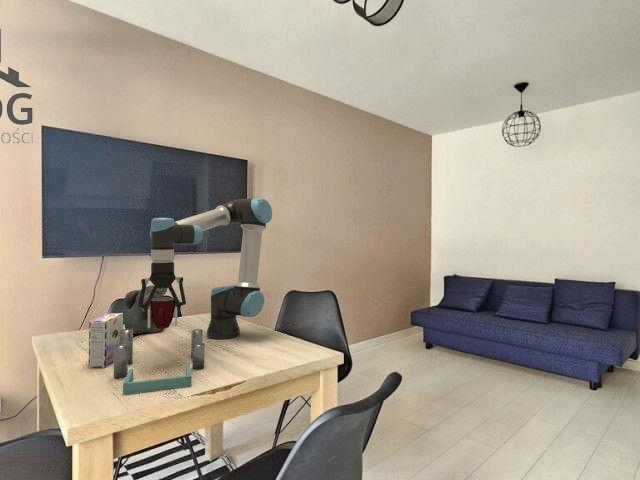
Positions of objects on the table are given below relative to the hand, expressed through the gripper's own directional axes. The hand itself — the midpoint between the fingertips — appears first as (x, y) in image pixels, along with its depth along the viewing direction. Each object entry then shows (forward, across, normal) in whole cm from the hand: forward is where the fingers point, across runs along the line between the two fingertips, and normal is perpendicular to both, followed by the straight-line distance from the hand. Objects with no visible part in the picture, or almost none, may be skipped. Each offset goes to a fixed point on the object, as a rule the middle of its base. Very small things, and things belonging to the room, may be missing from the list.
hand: (162, 325), depth 128 cm
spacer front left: (+14, -12, +6) cm, 19 cm away
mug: (+1, 0, 0) cm, 1 cm away
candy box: (+14, +19, -12) cm, 27 cm away
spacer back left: (+14, -12, -7) cm, 20 cm away
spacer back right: (+14, +12, -7) cm, 20 cm away
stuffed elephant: (+15, +10, -56) cm, 59 cm away
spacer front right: (+14, +12, +6) cm, 20 cm away
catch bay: (+14, 0, +16) cm, 21 cm away
